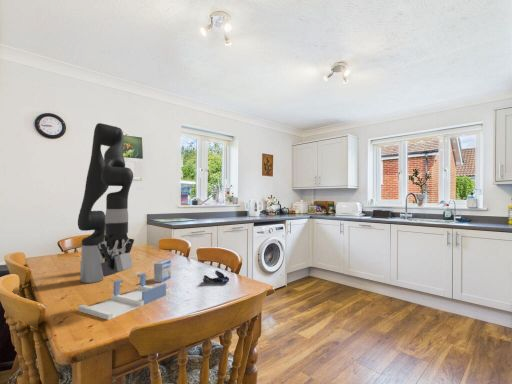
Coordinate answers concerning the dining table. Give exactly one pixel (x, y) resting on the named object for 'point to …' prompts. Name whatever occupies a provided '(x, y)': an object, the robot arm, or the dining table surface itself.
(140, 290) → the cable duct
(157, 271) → the medicine box
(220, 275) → the black clip
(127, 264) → the grey rectangular blocks
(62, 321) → the dining table surface
